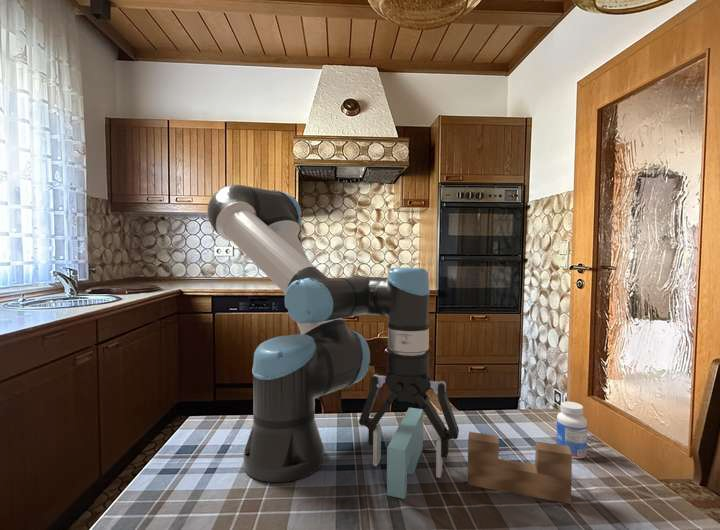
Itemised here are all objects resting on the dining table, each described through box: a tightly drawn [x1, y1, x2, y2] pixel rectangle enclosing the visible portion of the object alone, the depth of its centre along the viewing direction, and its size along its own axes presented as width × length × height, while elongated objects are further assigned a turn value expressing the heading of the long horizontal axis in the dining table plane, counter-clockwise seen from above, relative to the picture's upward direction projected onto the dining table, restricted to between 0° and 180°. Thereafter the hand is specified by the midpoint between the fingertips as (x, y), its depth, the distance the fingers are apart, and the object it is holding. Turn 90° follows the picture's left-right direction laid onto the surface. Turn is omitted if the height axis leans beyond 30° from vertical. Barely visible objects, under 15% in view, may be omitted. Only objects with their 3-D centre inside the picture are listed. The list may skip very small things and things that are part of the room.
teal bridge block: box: [386, 407, 424, 500], centre depth 72 cm, size 3×18×8 cm, turn 161°
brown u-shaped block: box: [467, 431, 573, 505], centre depth 66 cm, size 16×3×8 cm, turn 71°
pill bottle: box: [556, 401, 588, 459], centre depth 78 cm, size 6×5×10 cm
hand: (407, 468), depth 72 cm, fingers open, 11 cm apart
